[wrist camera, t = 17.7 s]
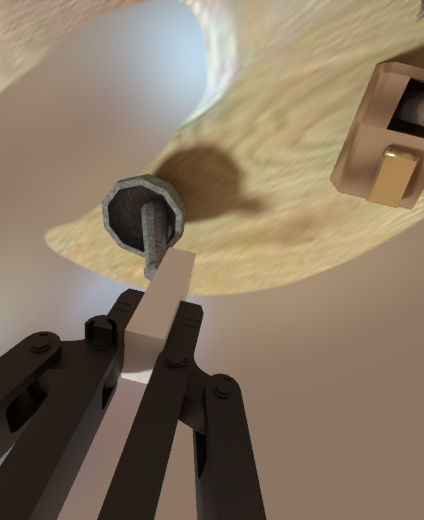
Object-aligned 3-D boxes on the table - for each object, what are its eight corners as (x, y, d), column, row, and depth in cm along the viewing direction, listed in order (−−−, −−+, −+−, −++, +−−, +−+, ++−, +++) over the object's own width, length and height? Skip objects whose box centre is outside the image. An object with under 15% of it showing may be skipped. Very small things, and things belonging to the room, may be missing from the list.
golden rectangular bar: (384, 147, 30) (388, 147, 30) (416, 154, 30) (421, 155, 29) (364, 199, 32) (367, 201, 31) (394, 207, 32) (398, 208, 31)
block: (376, 64, 31) (395, 61, 27) (454, 82, 31) (485, 83, 27) (329, 179, 37) (338, 192, 33) (394, 194, 37) (411, 209, 33)
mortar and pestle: (109, 185, 42) (60, 220, 31) (165, 149, 38) (130, 175, 28) (158, 251, 46) (128, 300, 36) (211, 223, 42) (196, 269, 32)
